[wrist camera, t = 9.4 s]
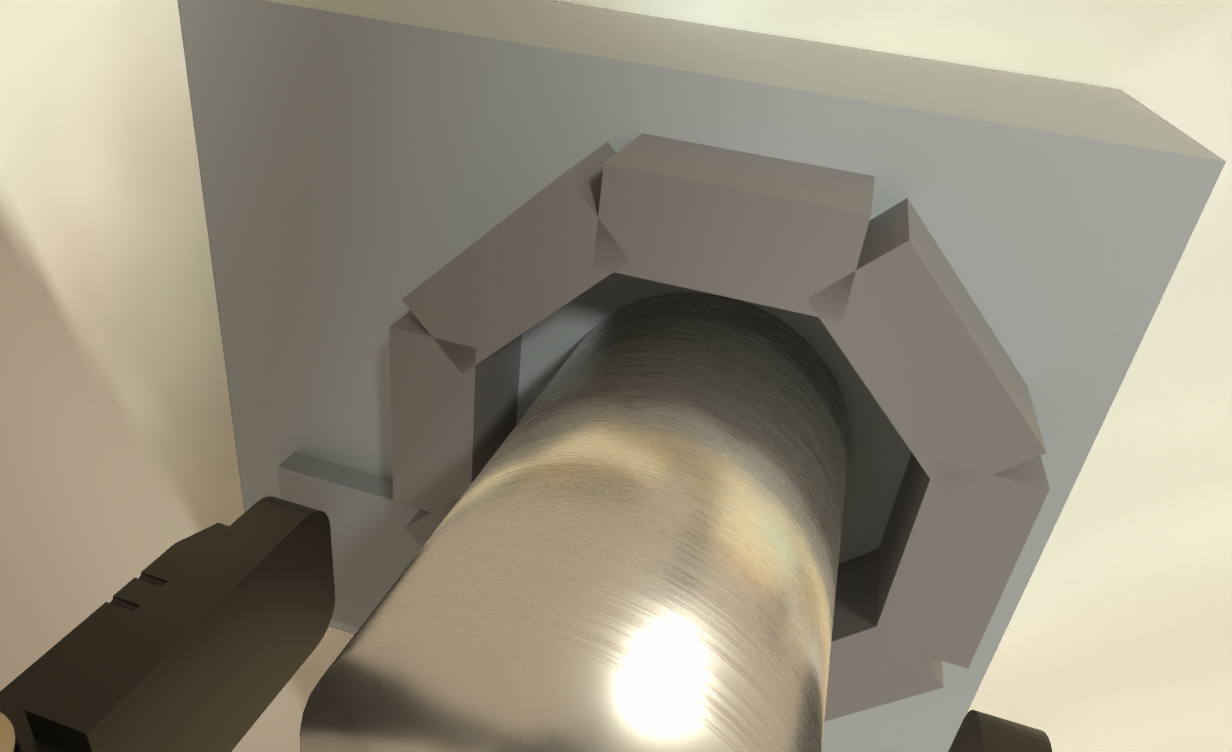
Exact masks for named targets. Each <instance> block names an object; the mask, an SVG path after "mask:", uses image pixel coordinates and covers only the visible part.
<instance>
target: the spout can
mask: <svg viewBox="0 0 1232 752" xmlns="http://www.w3.org/2000/svg"><path fill="white" fill-rule="evenodd" d="M848 451H849V423H848V414H847V410H846V406H845V403H844V399H843V395H842V393H841V391H840V389H839V386H838V384H837V382H836V379H835V377H834V376H833V374H832V373H831V371H830V369H829V368H828V366H827V364H826V363H825V361H824V360H823V359H822V358H821V356H820V355H819V354H818V353H817V351H816V350H815V349H814V348H813V347H812V345H810V344H809V343H808V342H807V341H806V340H805V339H804V338H803V337H802V336H801V335H800V334H799V333H798V332H797V331H795V330H794V329H792V328H791V327H790V326H788V325H787V324H786V323H784V322H783V321H782V320H780V319H778V318H777V317H775V316H773V315H771V314H769V313H768V312H766V311H764V310H762V309H760V308H757V307H755V306H753V305H750V304H748V303H745V302H743V301H739V300H736V299H732V298H728V297H724V296H720V295H713V294H707V293H690V292H680V293H670V294H661V295H657V296H653V297H649V298H644V299H641V300H639V301H636V302H634V303H631V304H628V305H626V306H624V307H622V308H620V309H619V310H617V311H615V312H613V313H612V314H610V315H609V316H607V317H606V318H605V319H603V320H602V321H601V322H599V323H598V324H597V325H596V326H595V327H594V328H593V329H592V330H591V331H590V332H589V333H588V334H587V335H586V336H585V337H584V339H583V340H582V341H581V342H580V344H579V345H578V346H577V348H576V349H575V350H574V352H573V353H572V354H571V355H570V357H569V358H568V359H567V361H566V362H565V363H564V364H563V366H562V367H561V368H560V370H559V371H558V372H557V374H556V375H555V376H554V377H553V379H552V380H551V381H550V383H549V384H548V385H547V386H546V388H545V389H544V390H543V392H542V393H541V394H540V396H539V397H538V398H537V399H536V401H535V402H534V403H533V405H532V406H531V407H530V408H529V410H528V411H527V412H526V414H525V415H524V416H523V418H522V419H521V420H520V421H519V423H518V424H517V425H516V427H515V428H514V429H513V430H512V432H511V433H510V434H509V436H508V437H507V438H506V440H505V441H504V442H503V443H502V445H501V446H500V447H499V449H498V450H497V451H496V452H495V454H494V455H493V456H492V458H491V459H490V460H489V462H488V463H487V464H486V465H485V467H484V468H483V469H482V471H481V472H480V473H479V474H478V476H477V477H476V478H475V480H474V481H473V482H472V484H471V485H470V486H469V487H468V489H467V490H466V491H465V493H464V494H463V495H462V496H461V498H460V499H459V500H458V502H457V503H456V504H455V506H454V507H453V508H452V509H451V511H450V512H449V513H448V515H447V516H446V517H445V518H444V520H443V521H442V522H441V524H440V525H439V526H438V528H437V529H436V530H435V531H434V533H433V534H432V535H431V537H430V538H429V539H428V540H427V542H426V543H425V544H424V546H423V547H422V548H421V550H420V551H419V552H418V553H417V555H416V556H415V557H414V559H413V560H412V561H411V562H410V564H409V565H408V566H407V568H406V569H405V570H404V572H403V573H402V574H401V575H400V577H399V578H398V579H397V581H396V582H395V583H394V584H393V586H392V587H391V588H390V590H389V591H388V592H387V594H386V595H385V596H384V597H383V599H382V600H381V601H380V603H379V604H378V605H377V606H376V608H375V609H374V610H373V612H372V613H371V614H370V616H369V617H368V618H367V619H366V621H365V622H364V623H363V625H362V626H361V627H360V629H359V630H358V631H357V632H356V634H355V635H354V636H353V638H352V639H351V640H350V641H349V643H348V644H347V645H346V647H345V648H344V649H343V651H342V652H341V653H340V654H339V656H338V657H337V658H336V660H335V661H334V662H333V663H332V665H331V666H330V667H329V669H328V670H327V671H326V673H325V674H324V675H323V676H322V678H321V679H320V681H319V682H318V684H317V685H316V687H315V688H314V690H313V691H312V693H311V694H310V697H309V699H308V702H307V704H306V707H305V709H304V712H303V717H302V723H301V730H300V751H301V752H821V751H822V740H823V729H824V717H825V706H826V695H827V684H828V673H829V662H830V651H831V640H832V629H833V618H834V606H835V595H836V584H837V573H838V562H839V551H840V540H841V529H842V518H843V507H844V495H845V484H846V473H847V462H848Z"/></svg>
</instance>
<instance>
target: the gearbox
mask: <svg viewBox="0 0 1232 752" xmlns="http://www.w3.org/2000/svg"><path fill="white" fill-rule="evenodd" d="M178 8H179V15H180V23H181V30H182V38H183V46H184V53H185V61H186V68H187V76H188V84H189V91H190V99H191V107H192V114H193V122H194V129H195V137H196V145H197V152H198V160H199V167H200V175H201V183H202V190H203V198H204V205H205V213H206V221H207V228H208V236H209V244H210V251H211V259H212V266H213V274H214V282H215V289H216V297H217V304H218V312H219V320H220V327H221V335H222V343H223V350H224V358H225V365H226V373H227V381H228V388H229V396H230V403H231V411H232V419H233V426H234V434H235V441H236V449H237V457H238V464H239V472H240V480H241V487H242V495H243V502H244V510H245V512H246V511H247V510H248V509H249V508H251V507H252V506H253V505H254V504H255V503H256V502H258V501H259V500H261V499H262V498H264V497H268V496H273V497H277V498H280V499H283V500H287V501H290V502H293V503H297V504H300V505H303V506H307V507H310V508H313V509H316V510H320V511H323V512H324V513H326V514H327V516H328V518H329V521H330V530H331V544H332V557H333V571H334V585H335V606H334V611H333V615H332V618H331V621H330V624H329V626H330V627H333V628H336V629H339V630H342V631H346V632H349V633H352V634H356V632H357V631H358V630H359V629H360V627H361V626H362V625H363V623H364V622H365V621H366V619H367V618H368V617H369V616H370V614H371V613H372V612H373V610H374V609H375V608H376V606H377V605H378V604H379V603H380V601H381V600H382V599H383V597H384V596H385V595H386V594H387V592H388V591H389V590H390V588H391V587H392V586H393V584H394V583H395V582H396V581H397V579H398V578H399V577H400V575H401V574H402V573H403V572H404V570H405V569H406V568H407V566H408V565H409V564H410V562H411V561H412V560H413V559H414V557H415V556H416V555H417V553H418V552H419V551H420V550H421V548H422V547H423V546H424V544H425V543H426V542H427V540H428V539H429V538H430V537H431V535H432V534H433V533H434V531H435V530H436V529H437V528H438V526H439V525H440V524H441V522H442V521H443V520H444V518H445V517H446V516H447V515H448V513H449V512H450V511H451V509H452V508H453V507H454V506H455V504H456V503H457V502H458V500H459V499H460V498H461V496H462V495H463V494H464V493H465V491H466V490H467V489H468V487H469V486H470V485H471V484H472V482H473V481H474V480H475V478H476V477H477V476H478V474H479V473H480V472H481V471H482V469H483V468H484V467H485V465H486V464H487V463H488V462H489V460H490V459H491V458H492V456H493V455H494V454H495V452H496V451H497V450H498V449H499V447H500V446H501V445H502V443H503V442H504V441H505V440H506V438H507V437H508V436H509V434H510V433H511V432H512V430H513V429H514V428H515V427H516V425H517V424H518V423H519V421H520V420H521V419H522V418H523V416H524V415H525V414H526V412H527V411H528V410H529V408H530V407H531V406H532V405H533V403H534V402H535V401H536V399H537V398H538V397H539V396H540V394H541V393H542V392H543V390H544V389H545V388H546V386H547V385H548V384H549V383H550V381H551V380H552V379H553V377H554V376H555V375H556V374H557V372H558V371H559V370H560V368H561V367H562V366H563V364H564V363H565V362H566V361H567V359H568V358H569V357H570V355H571V354H572V353H573V352H574V350H575V349H576V348H577V346H578V345H579V344H580V342H581V341H582V340H583V339H584V337H585V336H586V335H587V334H588V333H589V332H590V331H591V330H592V329H593V328H594V327H595V326H596V325H597V324H598V323H599V322H601V321H602V320H603V319H605V318H606V317H607V316H609V315H610V314H612V313H613V312H615V311H617V310H619V309H620V308H622V307H624V306H626V305H628V304H631V303H634V302H636V301H639V300H641V299H644V298H649V297H653V296H657V295H661V294H670V293H680V292H690V293H707V294H713V295H720V296H724V297H728V298H732V299H736V300H739V301H743V302H745V303H748V304H750V305H753V306H755V307H757V308H760V309H762V310H764V311H766V312H768V313H769V314H771V315H773V316H775V317H777V318H778V319H780V320H782V321H783V322H784V323H786V324H787V325H788V326H790V327H791V328H792V329H794V330H795V331H797V332H798V333H799V334H800V335H801V336H802V337H803V338H804V339H805V340H806V341H807V342H808V343H809V344H810V345H812V347H813V348H814V349H815V350H816V351H817V353H818V354H819V355H820V356H821V358H822V359H823V360H824V361H825V363H826V364H827V366H828V368H829V369H830V371H831V373H832V374H833V376H834V377H835V379H836V382H837V384H838V386H839V389H840V391H841V393H842V395H843V399H844V403H845V406H846V410H847V414H848V423H849V451H848V462H847V473H846V484H845V495H844V507H843V518H842V529H841V540H840V551H839V562H838V573H837V584H836V595H835V606H834V618H833V629H832V640H831V651H830V662H829V673H828V684H827V695H826V706H825V717H824V729H823V740H822V751H821V752H948V751H949V749H950V747H951V745H952V742H953V740H954V738H955V736H956V734H957V732H958V730H959V728H960V726H961V724H962V721H963V720H964V718H965V715H966V713H967V711H968V709H969V707H970V705H971V703H972V701H973V698H974V696H975V694H976V692H977V690H978V688H979V686H980V684H981V681H982V679H983V677H984V675H985V673H986V671H987V669H988V667H989V664H990V662H991V660H992V658H993V656H994V654H995V652H996V649H997V647H998V645H999V643H1000V641H1001V639H1002V637H1003V635H1004V632H1005V630H1006V628H1007V626H1008V624H1009V622H1010V620H1011V618H1012V615H1013V613H1014V611H1015V609H1016V607H1017V605H1018V603H1019V600H1020V598H1021V596H1022V594H1023V592H1024V590H1025V588H1026V586H1027V583H1028V581H1029V579H1030V577H1031V575H1032V573H1033V571H1034V569H1035V566H1036V564H1037V562H1038V560H1039V558H1040V556H1041V554H1042V552H1043V549H1044V547H1045V545H1046V543H1047V541H1048V539H1049V537H1050V534H1051V532H1052V530H1053V528H1054V526H1055V524H1056V522H1057V520H1058V517H1059V515H1060V513H1061V511H1062V509H1063V507H1064V505H1065V503H1066V500H1067V498H1068V496H1069V494H1070V492H1071V490H1072V488H1073V486H1074V483H1075V481H1076V479H1077V477H1078V475H1079V473H1080V471H1081V468H1082V466H1083V464H1084V462H1085V460H1086V458H1087V456H1088V454H1089V451H1090V449H1091V447H1092V445H1093V443H1094V441H1095V439H1096V437H1097V434H1098V432H1099V430H1100V428H1101V426H1102V424H1103V422H1104V420H1105V417H1106V415H1107V413H1108V411H1109V409H1110V407H1111V405H1112V402H1113V400H1114V398H1115V396H1116V394H1117V392H1118V390H1119V388H1120V385H1121V383H1122V381H1123V379H1124V377H1125V375H1126V373H1127V371H1128V368H1129V366H1130V364H1131V362H1132V360H1133V358H1134V356H1135V354H1136V351H1137V349H1138V347H1139V345H1140V343H1141V341H1142V339H1143V336H1144V334H1145V332H1146V330H1147V328H1148V326H1149V324H1150V322H1151V319H1152V317H1153V315H1154V313H1155V311H1156V309H1157V307H1158V305H1159V302H1160V300H1161V298H1162V296H1163V294H1164V292H1165V290H1166V288H1167V285H1168V283H1169V281H1170V279H1171V277H1172V275H1173V273H1174V270H1175V268H1176V266H1177V264H1178V262H1179V260H1180V258H1181V256H1182V253H1183V251H1184V249H1185V247H1186V245H1187V243H1188V241H1189V239H1190V236H1191V234H1192V232H1193V230H1194V228H1195V226H1196V224H1197V222H1198V219H1199V217H1200V215H1201V213H1202V211H1203V209H1204V207H1205V204H1206V202H1207V200H1208V198H1209V196H1210V194H1211V192H1212V190H1213V187H1214V185H1215V183H1216V181H1217V179H1218V177H1219V175H1220V173H1221V170H1222V168H1223V166H1224V164H1225V162H1226V161H1224V160H1223V159H1221V158H1220V157H1218V156H1217V155H1215V154H1214V153H1212V152H1211V151H1210V150H1208V149H1207V148H1205V147H1204V146H1202V145H1201V144H1199V143H1198V142H1196V141H1195V140H1193V139H1192V138H1191V137H1189V136H1188V135H1186V134H1185V133H1183V132H1182V131H1180V130H1179V129H1177V128H1176V127H1175V126H1173V125H1172V124H1170V123H1169V122H1167V121H1166V120H1164V119H1163V118H1161V117H1160V116H1158V115H1157V114H1156V113H1154V112H1153V111H1151V110H1150V109H1148V108H1147V107H1145V106H1144V105H1142V104H1141V103H1139V102H1138V101H1137V100H1135V99H1134V98H1132V97H1131V96H1129V95H1128V94H1126V93H1125V92H1123V91H1122V90H1119V89H1113V88H1107V87H1100V86H1094V85H1087V84H1081V83H1075V82H1068V81H1062V80H1055V79H1049V78H1042V77H1036V76H1030V75H1023V74H1017V73H1010V72H1004V71H998V70H991V69H985V68H978V67H972V66H966V65H959V64H953V63H946V62H940V61H933V60H927V59H921V58H914V57H908V56H901V55H895V54H889V53H882V52H876V51H869V50H863V49H857V48H850V47H844V46H837V45H831V44H825V43H818V42H812V41H805V40H799V39H792V38H786V37H780V36H773V35H767V34H760V33H754V32H748V31H741V30H735V29H728V28H722V27H716V26H709V25H703V24H696V23H690V22H684V21H677V20H671V19H664V18H658V17H651V16H645V15H639V14H632V13H626V12H619V11H613V10H607V9H600V8H594V7H587V6H581V5H575V4H568V3H562V2H555V1H549V0H178Z"/></svg>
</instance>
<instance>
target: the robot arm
mask: <svg viewBox="0 0 1232 752" xmlns="http://www.w3.org/2000/svg"><path fill="white" fill-rule="evenodd" d="M334 606H335V585H334V571H333V557H332V544H331V530H330V521H329V518H328V516H327V514H326V513H324V512H323V511H320V510H316V509H313V508H310V507H307V506H303V505H300V504H297V503H293V502H290V501H287V500H283V499H280V498H277V497H273V496H268V497H264V498H262V499H261V500H259V501H258V502H256V503H255V504H254V505H253V506H252V507H251V508H249V509H248V510H247V511H246V512H245V513H244V514H243V515H242V516H240V517H239V518H238V519H237V520H236V521H235V522H234V523H233V524H232V525H230V526H226V525H223V524H220V523H217V524H215V525H213V526H211V527H209V528H206V529H204V530H202V531H200V532H198V533H196V534H194V535H192V536H190V537H188V538H185V539H183V540H181V541H179V542H177V543H175V544H174V545H173V546H171V547H170V548H169V549H168V550H167V551H166V552H164V553H163V554H162V555H161V556H160V557H158V558H157V559H156V560H155V561H154V562H153V563H151V564H150V565H149V566H148V567H147V568H146V569H144V570H143V571H142V572H141V576H140V577H139V578H138V579H137V578H134V579H133V580H131V581H130V582H129V583H128V584H127V585H126V586H124V587H123V588H122V589H121V590H120V591H118V592H117V593H116V594H115V595H114V596H113V600H112V601H111V602H110V603H107V602H105V603H104V604H103V605H102V606H101V607H100V608H98V609H97V610H96V611H95V612H94V613H92V614H91V615H90V616H89V617H88V618H87V619H85V620H84V621H83V622H82V623H81V624H79V625H78V626H77V627H76V628H75V629H74V630H72V631H71V632H70V633H69V634H68V635H66V636H65V637H64V638H63V639H62V640H61V641H60V642H58V643H57V644H56V645H55V646H54V647H52V648H51V649H50V650H49V651H48V652H46V653H45V654H44V655H43V656H42V657H41V658H39V659H38V660H37V661H36V662H35V663H33V664H32V665H31V666H30V667H29V668H28V669H27V670H25V671H24V672H23V673H22V674H20V675H19V676H18V677H17V678H16V679H15V680H13V681H12V682H11V683H10V684H9V685H8V686H6V687H5V688H4V689H3V690H2V691H0V752H231V751H232V750H233V749H234V747H235V746H236V745H237V744H238V743H239V741H240V740H241V739H242V738H243V736H244V735H245V734H246V733H247V731H248V730H249V729H250V728H251V726H252V725H253V724H254V723H255V722H256V720H257V719H258V718H259V717H260V715H261V714H262V713H263V712H264V710H265V709H266V708H267V707H268V706H269V704H270V703H271V702H272V701H273V699H274V698H275V697H276V696H277V695H278V693H279V692H280V691H281V690H282V688H283V687H284V686H285V685H286V683H287V682H288V681H289V680H290V679H291V677H292V676H293V675H294V674H295V672H296V671H297V670H298V669H299V667H300V666H301V665H302V664H303V663H304V661H305V660H306V659H307V658H308V656H309V655H310V654H311V653H312V652H313V650H314V649H315V648H316V647H317V645H318V644H319V642H320V641H321V639H322V638H323V636H324V634H325V632H326V630H327V628H328V626H329V624H330V621H331V618H332V615H333V611H334ZM948 752H1052V748H1051V744H1050V741H1049V738H1048V736H1047V735H1046V733H1045V732H1043V731H1041V730H1038V729H1034V728H1031V727H1028V726H1025V725H1021V724H1018V723H1015V722H1011V721H1008V720H1005V719H1001V718H998V717H995V716H991V715H988V714H985V713H981V712H978V711H975V710H971V711H969V712H968V713H967V715H966V716H965V718H964V720H963V721H962V724H961V726H960V728H959V730H958V732H957V734H956V736H955V738H954V740H953V742H952V745H951V747H950V749H949V751H948Z"/></svg>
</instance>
